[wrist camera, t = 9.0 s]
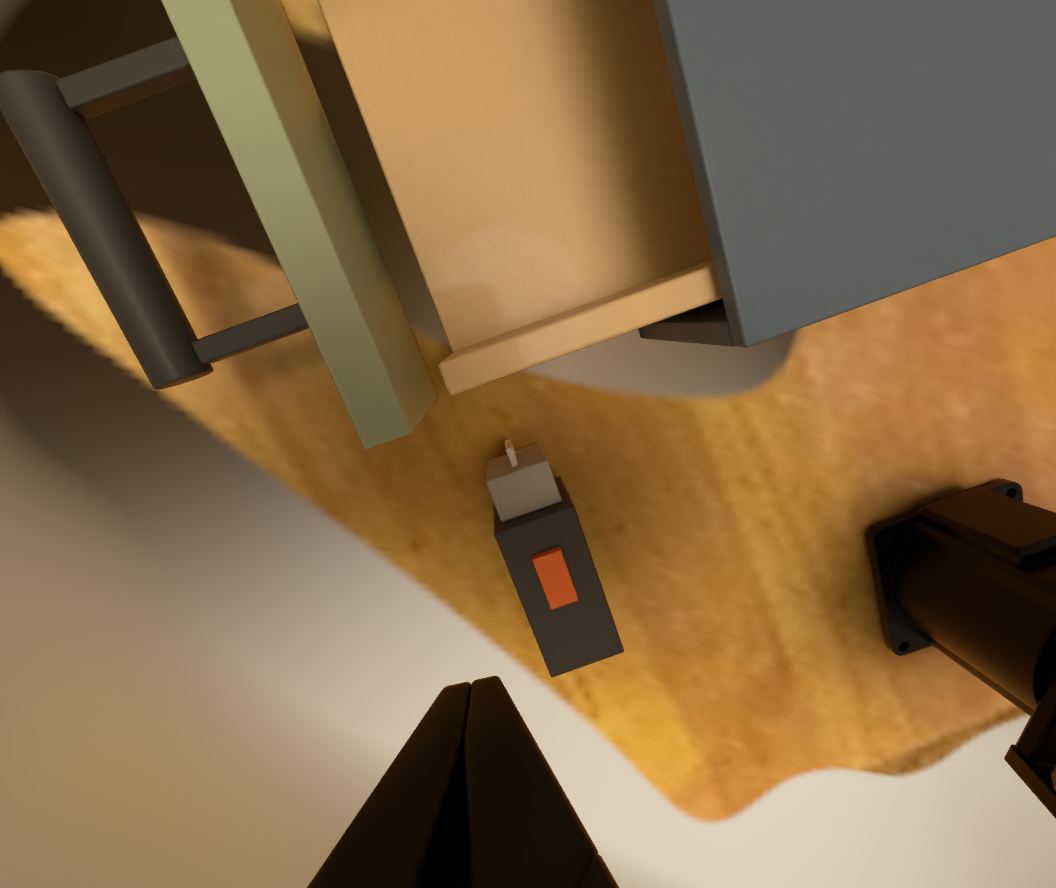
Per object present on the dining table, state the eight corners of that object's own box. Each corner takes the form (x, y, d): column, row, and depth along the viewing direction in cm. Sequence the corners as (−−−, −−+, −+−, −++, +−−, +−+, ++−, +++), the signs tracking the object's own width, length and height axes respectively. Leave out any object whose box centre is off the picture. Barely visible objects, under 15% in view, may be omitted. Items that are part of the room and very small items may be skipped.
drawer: (275, 454, 17) (167, 521, 12) (70, 46, 14) (-227, -152, 8) (761, 280, 17) (903, 257, 11) (665, -172, 14) (794, -529, 8)
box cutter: (604, 603, 21) (627, 658, 17) (541, 625, 21) (552, 684, 17) (541, 421, 19) (553, 443, 15) (471, 446, 19) (468, 474, 15)
